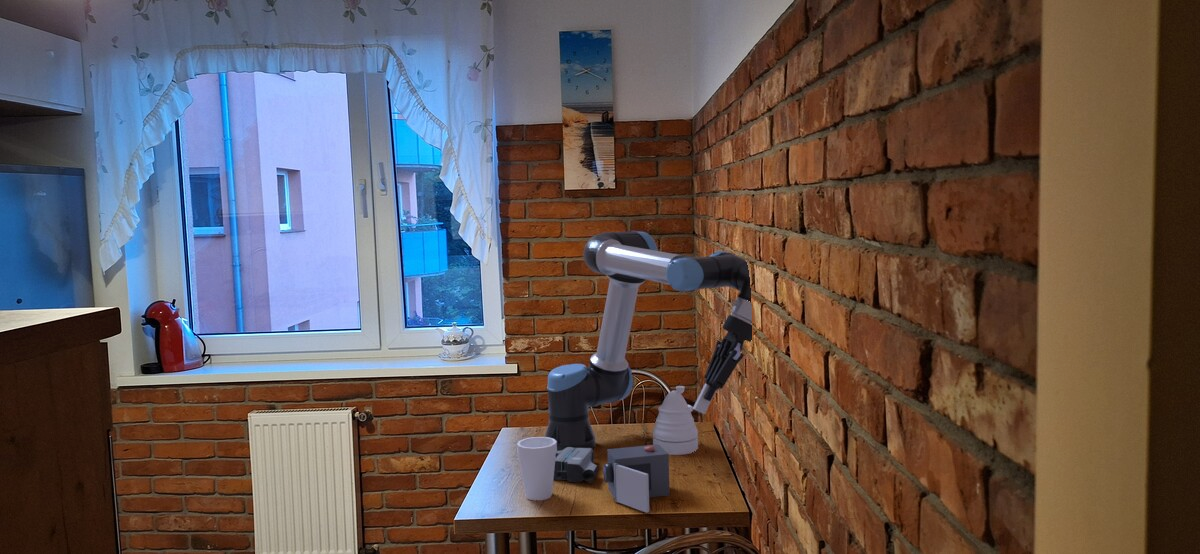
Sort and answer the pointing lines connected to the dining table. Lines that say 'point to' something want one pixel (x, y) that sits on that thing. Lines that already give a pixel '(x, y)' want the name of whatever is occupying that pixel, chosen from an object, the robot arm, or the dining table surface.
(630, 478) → the side door
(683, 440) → the honey pot
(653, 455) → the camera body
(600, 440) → the dining table surface
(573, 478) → the camcorder
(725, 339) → the robot arm
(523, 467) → the foam cup
